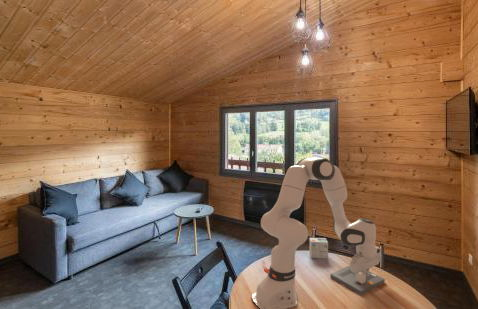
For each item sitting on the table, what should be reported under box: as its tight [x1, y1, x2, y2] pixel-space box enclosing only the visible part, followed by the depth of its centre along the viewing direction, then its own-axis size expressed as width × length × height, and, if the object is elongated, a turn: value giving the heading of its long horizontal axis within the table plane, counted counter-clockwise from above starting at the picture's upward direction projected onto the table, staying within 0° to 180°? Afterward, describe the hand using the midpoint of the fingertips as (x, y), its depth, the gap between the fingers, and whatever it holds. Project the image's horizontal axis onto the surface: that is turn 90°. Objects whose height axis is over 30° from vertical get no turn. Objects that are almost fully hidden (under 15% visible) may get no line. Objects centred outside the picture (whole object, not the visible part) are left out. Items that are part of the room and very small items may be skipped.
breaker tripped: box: [356, 272, 366, 284], centre depth 130 cm, size 3×4×4 cm
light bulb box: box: [308, 237, 329, 259], centre depth 161 cm, size 11×7×11 cm, turn 84°
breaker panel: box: [329, 265, 386, 296], centre depth 135 cm, size 20×18×2 cm
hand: (364, 276), depth 132 cm, fingers closed
